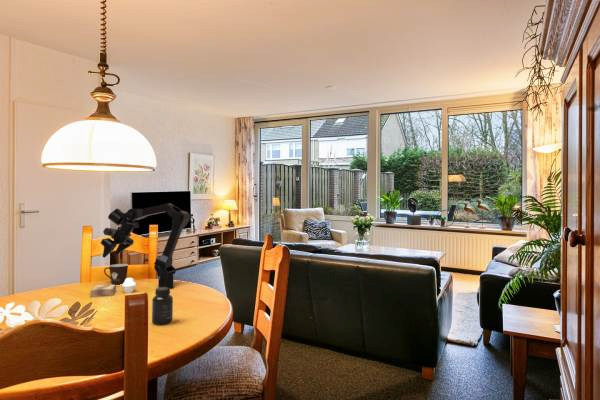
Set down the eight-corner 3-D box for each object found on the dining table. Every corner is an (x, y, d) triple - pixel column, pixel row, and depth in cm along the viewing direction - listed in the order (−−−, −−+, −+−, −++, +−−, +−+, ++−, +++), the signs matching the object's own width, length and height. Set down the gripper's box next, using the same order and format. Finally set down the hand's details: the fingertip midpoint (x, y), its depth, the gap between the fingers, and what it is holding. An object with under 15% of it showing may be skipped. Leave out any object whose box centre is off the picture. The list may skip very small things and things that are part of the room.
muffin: (119, 292, 169) (119, 277, 169) (132, 290, 173) (132, 275, 174) (125, 294, 165) (125, 279, 165) (138, 292, 169) (138, 277, 170)
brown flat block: (115, 291, 171) (116, 284, 171) (113, 295, 162) (113, 288, 162) (94, 292, 168) (94, 285, 168) (90, 297, 159) (90, 289, 159)
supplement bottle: (147, 323, 126) (148, 288, 126) (164, 318, 132) (165, 285, 132) (159, 327, 122) (160, 291, 122) (176, 321, 128) (177, 287, 128)
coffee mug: (131, 284, 185) (131, 265, 186) (115, 287, 178) (115, 267, 178) (118, 281, 192) (118, 262, 192) (102, 284, 184) (102, 265, 184)
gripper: (124, 220, 193) (109, 244, 194) (100, 222, 174) (84, 249, 176) (140, 232, 192) (125, 256, 193) (118, 235, 173) (101, 262, 174)
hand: (109, 255), depth 184 cm, fingers open, 9 cm apart
